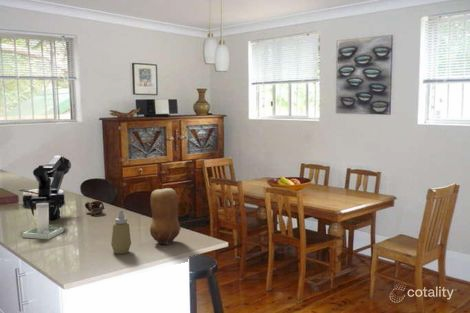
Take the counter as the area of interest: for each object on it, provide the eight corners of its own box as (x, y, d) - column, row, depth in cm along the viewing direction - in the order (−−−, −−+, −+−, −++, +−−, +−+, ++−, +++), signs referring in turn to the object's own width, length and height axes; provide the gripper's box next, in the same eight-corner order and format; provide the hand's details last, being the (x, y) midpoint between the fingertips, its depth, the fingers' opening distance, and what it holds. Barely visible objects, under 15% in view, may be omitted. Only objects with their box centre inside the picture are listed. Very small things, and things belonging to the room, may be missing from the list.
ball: (40, 237, 202) (40, 230, 202) (45, 235, 205) (44, 228, 205) (47, 238, 201) (47, 231, 201) (51, 236, 205) (51, 229, 204)
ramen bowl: (72, 203, 276) (72, 190, 275) (39, 209, 257) (39, 195, 256) (47, 198, 289) (47, 185, 288) (14, 204, 270) (13, 190, 269)
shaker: (33, 234, 207) (33, 204, 206) (43, 231, 212) (42, 201, 210) (42, 235, 205) (41, 205, 203) (51, 232, 210) (51, 203, 208)
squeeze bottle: (113, 249, 191) (112, 207, 189) (132, 249, 191) (132, 207, 189) (109, 255, 183) (109, 212, 181) (129, 255, 183) (129, 212, 181)
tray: (22, 238, 202) (22, 232, 202) (39, 231, 214) (38, 225, 214) (48, 240, 200) (48, 234, 200) (63, 232, 213) (63, 227, 212)
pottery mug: (107, 212, 257) (107, 201, 253) (99, 222, 250) (99, 212, 245) (88, 206, 259) (88, 195, 254) (79, 216, 251) (79, 205, 246)
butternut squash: (153, 238, 208) (153, 185, 205) (182, 239, 207) (182, 186, 204) (146, 247, 194) (147, 190, 191) (177, 248, 193) (178, 191, 191)
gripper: (65, 195, 232) (65, 221, 224) (25, 197, 226) (24, 224, 217) (64, 183, 224) (64, 210, 215) (23, 184, 218) (21, 212, 209)
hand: (43, 214), depth 214 cm, fingers open, 9 cm apart
